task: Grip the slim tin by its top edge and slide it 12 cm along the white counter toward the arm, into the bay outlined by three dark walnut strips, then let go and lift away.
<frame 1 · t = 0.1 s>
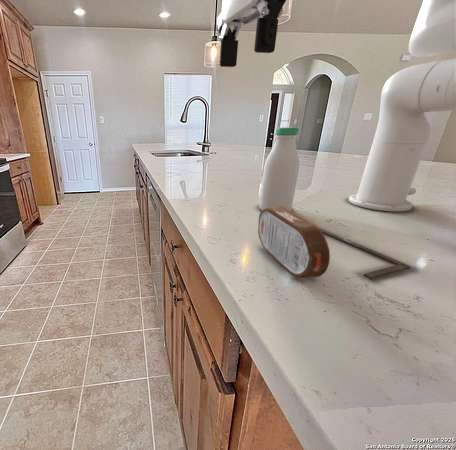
hand: (244, 60, 41), 31 cm above the counter, tool pointing down, fingers open, 9 cm apart
milk bottle: (274, 210, 64), on the counter
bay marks: (325, 243, 46), on the counter
tin: (282, 262, 40), on the counter
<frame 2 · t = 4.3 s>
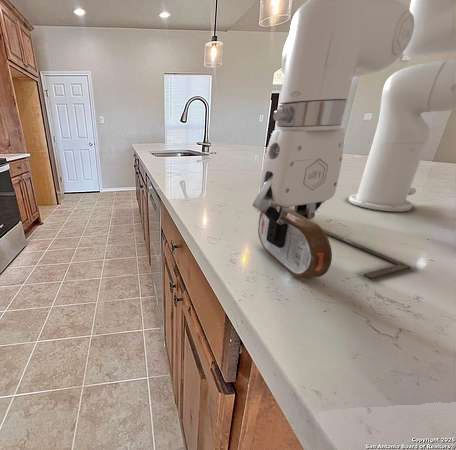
hand: (285, 240, 39), 4 cm above the counter, tool pointing down, fingers closed on tin, 3 cm apart
tin: (282, 262, 40), on the counter, touching gripper
everything else where it was.
when the fingers open (4 cm above the counter, at t = 8.2 s): tin stays where it is, on the counter.
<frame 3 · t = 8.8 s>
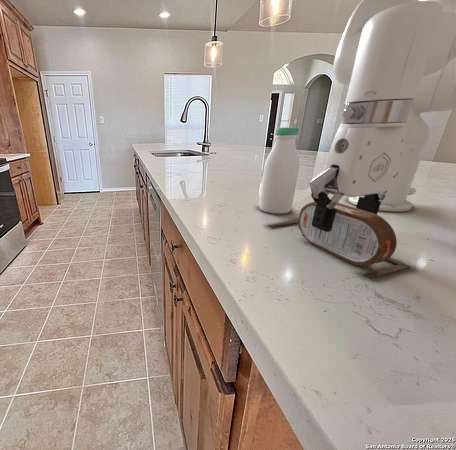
hand: (342, 224, 42), 5 cm above the counter, tool pointing down, fingers open, 9 cm apart
tin: (332, 252, 43), on the counter
everything else where it was.
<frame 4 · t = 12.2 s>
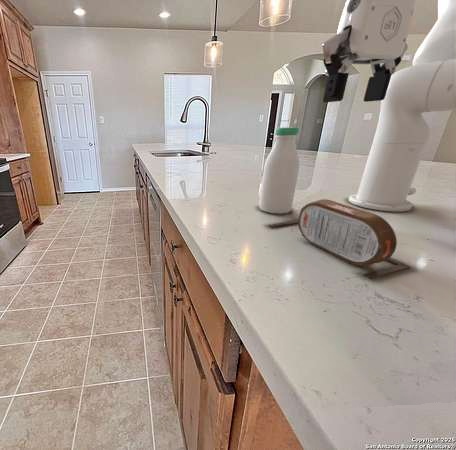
hand: (353, 101, 43), 24 cm above the counter, tool pointing down, fingers open, 9 cm apart
nothing on the counter moved.
at the end: tin 1.9 cm from the target spot, on the counter; tin tilted 0°; the gripper is holding nothing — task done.
